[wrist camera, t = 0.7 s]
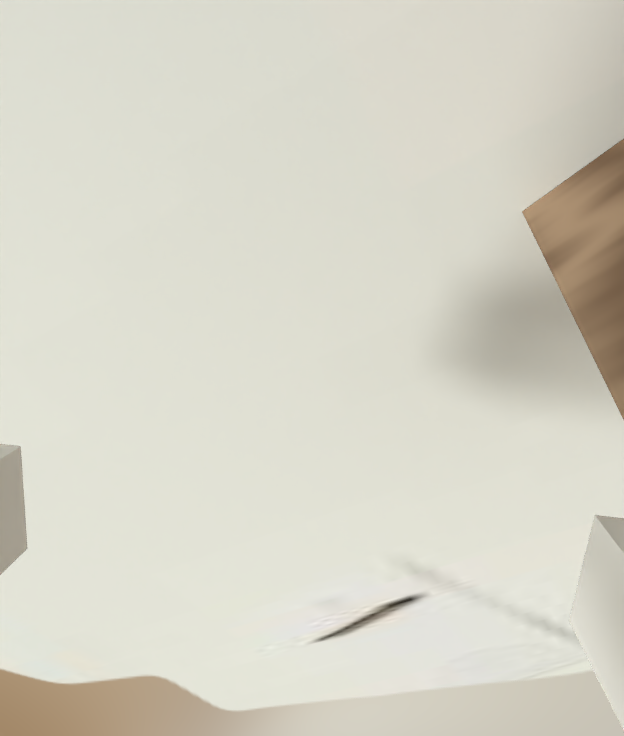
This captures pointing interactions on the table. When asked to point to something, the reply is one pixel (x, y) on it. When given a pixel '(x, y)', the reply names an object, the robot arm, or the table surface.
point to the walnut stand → (590, 256)
